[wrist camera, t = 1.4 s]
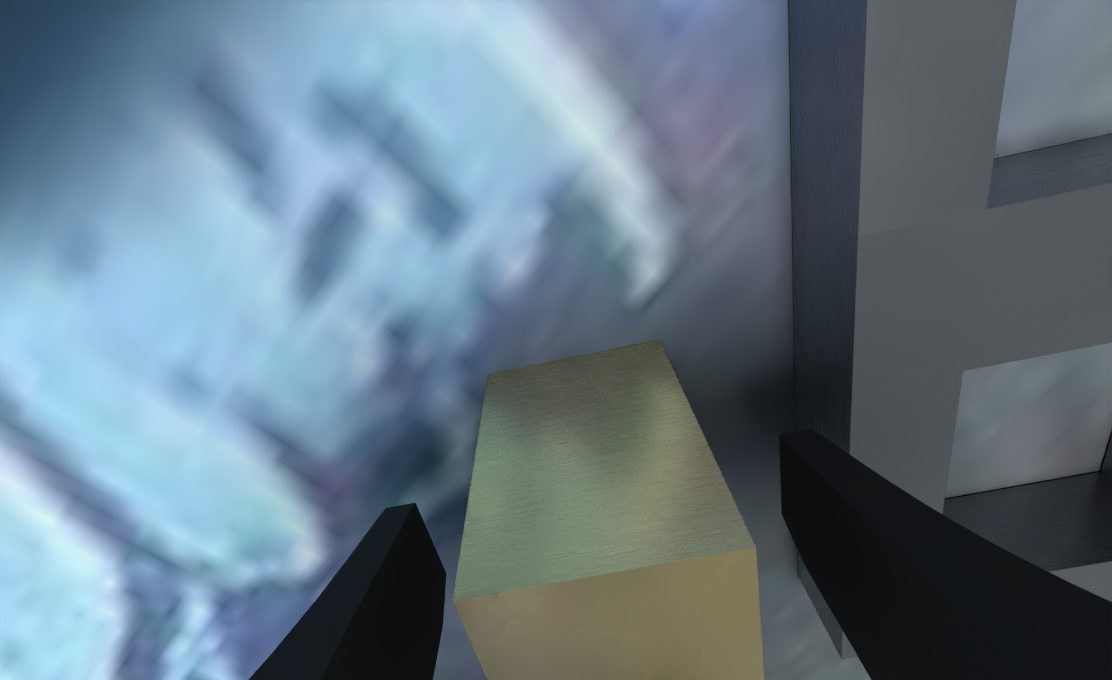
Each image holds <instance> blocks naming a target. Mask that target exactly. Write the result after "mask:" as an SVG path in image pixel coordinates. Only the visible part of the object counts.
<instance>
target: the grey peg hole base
mask: <svg viewBox="0 0 1112 680" xmlns="http://www.w3.org/2000/svg"><path fill="white" fill-rule="evenodd" d="M1015 7H1016V0H789V40H790V102H791V165H792V227H793V289H794V351H795V413H796V432H797V431H802V430H807V429H813V430H815V431H816V432H818V433H819V434H821V435H822V436H823V437H825V438H826V439H828V440H829V441H831V442H832V443H834V444H835V445H837V446H838V447H840V448H841V449H842V450H844V451H845V452H847V453H848V454H850V455H851V456H853V457H854V458H856V459H857V460H859V461H860V462H862V463H863V464H864V465H866V466H867V467H869V468H870V469H872V470H873V471H875V472H876V473H878V474H879V475H881V476H882V477H884V478H885V479H887V480H888V481H890V482H891V483H893V484H895V485H896V486H898V487H899V488H901V489H902V490H904V491H906V492H907V493H909V494H910V495H912V496H913V497H915V498H917V499H918V500H920V501H921V502H923V503H924V504H926V505H928V506H929V507H931V508H933V509H934V510H936V511H938V512H939V513H941V514H943V515H944V516H946V517H948V518H949V519H951V520H953V521H955V522H956V523H958V524H960V525H962V526H963V527H965V528H967V529H969V530H970V531H972V532H974V533H976V534H977V535H979V536H981V537H982V538H984V539H986V540H988V541H990V542H992V543H993V544H995V545H997V546H999V547H1001V548H1003V549H1005V550H1006V551H1008V552H1010V553H1012V554H1014V555H1016V556H1018V557H1020V558H1022V559H1024V560H1026V561H1028V562H1030V563H1032V564H1034V565H1036V566H1038V567H1040V568H1042V569H1044V570H1046V571H1048V572H1050V573H1052V574H1054V575H1056V576H1058V577H1060V578H1062V579H1064V580H1066V581H1068V582H1070V583H1072V584H1074V585H1076V586H1078V587H1080V588H1083V589H1085V590H1087V591H1089V592H1091V593H1093V594H1095V595H1098V596H1100V597H1102V598H1104V599H1106V600H1109V601H1111V602H1112V436H1111V440H1110V443H1109V446H1108V449H1107V453H1106V456H1105V459H1104V463H1103V466H1102V469H1101V472H1097V473H1091V474H1086V475H1080V476H1075V477H1069V478H1063V479H1058V480H1052V481H1046V482H1041V483H1035V484H1030V485H1024V486H1018V487H1013V488H1007V489H1001V490H996V491H990V492H985V493H979V494H973V495H968V496H962V497H956V498H951V499H945V492H946V485H947V478H948V471H949V465H950V458H951V451H952V444H953V437H954V430H955V423H956V416H957V409H958V402H959V395H960V388H961V381H962V374H963V371H964V370H970V369H975V368H980V367H985V366H991V365H996V364H1001V363H1006V362H1011V361H1017V360H1022V359H1027V358H1032V357H1037V356H1043V355H1048V354H1053V353H1058V352H1063V351H1069V350H1074V349H1079V348H1084V347H1090V346H1095V345H1100V344H1105V343H1110V342H1112V134H1109V135H1105V136H1100V137H1095V138H1091V139H1086V140H1081V141H1077V142H1072V143H1067V144H1063V145H1058V146H1053V147H1049V148H1044V149H1039V150H1035V151H1030V152H1025V153H1021V154H1016V155H1011V156H1007V157H1002V158H997V159H994V153H995V146H996V139H997V132H998V125H999V118H1000V111H1001V104H1002V97H1003V90H1004V84H1005V77H1006V70H1007V63H1008V56H1009V49H1010V42H1011V35H1012V28H1013V21H1014V14H1015ZM944 499H945V500H944ZM798 576H799V578H800V580H801V582H802V584H803V586H804V588H805V590H806V592H807V594H808V596H809V597H810V599H811V601H812V603H813V605H814V607H815V609H816V611H817V613H818V615H819V617H820V619H821V621H822V622H823V624H824V626H825V628H826V630H827V632H828V634H829V636H830V638H831V640H832V642H833V644H834V646H835V647H836V649H837V651H838V653H839V655H840V657H841V659H845V658H851V657H857V654H856V652H855V651H854V649H853V647H852V645H851V644H850V642H849V640H848V639H847V637H846V635H845V634H844V632H843V630H842V628H841V627H840V625H839V623H838V622H837V620H836V618H835V617H834V615H833V613H832V612H831V610H830V608H829V606H828V605H827V603H826V601H825V600H824V598H823V596H822V594H821V593H820V591H819V589H818V588H817V586H816V584H815V582H814V581H813V579H812V577H811V575H810V574H809V572H808V570H807V568H806V567H805V565H804V563H803V561H802V559H801V556H800V554H799V552H798Z"/></svg>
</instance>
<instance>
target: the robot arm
mask: <svg viewBox="0 0 1112 680" xmlns="http://www.w3.org/2000/svg"><path fill="white" fill-rule="evenodd" d="M779 438H780V471H781V504H782V515H783V518H784V520H785V522H786V525H787V527H788V529H789V532H790V534H791V536H792V539H793V541H794V543H795V545H796V548H797V550H798V552H799V554H800V556H801V559H802V561H803V563H804V565H805V567H806V568H807V570H808V572H809V574H810V575H811V577H812V579H813V581H814V582H815V584H816V586H817V588H818V589H819V591H820V593H821V594H822V596H823V598H824V600H825V601H826V603H827V605H828V606H829V608H830V610H831V612H832V613H833V615H834V617H835V618H836V620H837V622H838V623H839V625H840V627H841V628H842V630H843V632H844V634H845V635H846V637H847V639H848V640H849V642H850V644H851V645H852V647H853V649H854V651H855V652H856V654H857V656H858V657H859V659H860V661H861V662H862V664H863V666H864V668H865V669H866V671H867V673H868V674H869V676H870V678H871V679H872V680H1112V602H1111V601H1109V600H1106V599H1104V598H1102V597H1100V596H1098V595H1095V594H1093V593H1091V592H1089V591H1087V590H1085V589H1083V588H1080V587H1078V586H1076V585H1074V584H1072V583H1070V582H1068V581H1066V580H1064V579H1062V578H1060V577H1058V576H1056V575H1054V574H1052V573H1050V572H1048V571H1046V570H1044V569H1042V568H1040V567H1038V566H1036V565H1034V564H1032V563H1030V562H1028V561H1026V560H1024V559H1022V558H1020V557H1018V556H1016V555H1014V554H1012V553H1010V552H1008V551H1006V550H1005V549H1003V548H1001V547H999V546H997V545H995V544H993V543H992V542H990V541H988V540H986V539H984V538H982V537H981V536H979V535H977V534H976V533H974V532H972V531H970V530H969V529H967V528H965V527H963V526H962V525H960V524H958V523H956V522H955V521H953V520H951V519H949V518H948V517H946V516H944V515H943V514H941V513H939V512H938V511H936V510H934V509H933V508H931V507H929V506H928V505H926V504H924V503H923V502H921V501H920V500H918V499H917V498H915V497H913V496H912V495H910V494H909V493H907V492H906V491H904V490H902V489H901V488H899V487H898V486H896V485H895V484H893V483H891V482H890V481H888V480H887V479H885V478H884V477H882V476H881V475H879V474H878V473H876V472H875V471H873V470H872V469H870V468H869V467H867V466H866V465H864V464H863V463H862V462H860V461H859V460H857V459H856V458H854V457H853V456H851V455H850V454H848V453H847V452H845V451H844V450H842V449H841V448H840V447H838V446H837V445H835V444H834V443H832V442H831V441H829V440H828V439H826V438H825V437H823V436H822V435H821V434H819V433H818V432H816V431H815V430H813V429H807V430H802V431H797V432H791V433H786V434H780V435H779ZM445 584H446V572H445V570H444V567H443V565H442V563H441V560H440V558H439V556H438V554H437V551H436V549H435V547H434V544H433V542H432V540H431V537H430V535H429V533H428V531H427V528H426V526H425V524H424V521H423V519H422V517H421V515H420V512H419V510H418V508H417V505H416V503H411V504H406V505H401V506H395V507H390V508H386V509H385V510H384V512H383V513H382V514H381V515H380V517H379V518H378V519H377V521H376V522H375V523H374V524H373V526H372V527H371V528H370V530H369V531H368V532H367V534H366V535H365V536H364V538H363V539H362V541H361V542H360V543H359V545H358V546H357V547H356V549H355V550H354V551H353V553H352V554H351V555H350V557H349V558H348V559H347V561H346V562H345V563H344V565H343V566H342V567H341V568H340V570H339V571H338V572H337V574H336V575H335V576H334V578H333V579H332V580H331V581H330V583H329V584H328V585H327V587H326V588H325V589H324V591H323V592H322V593H321V595H320V596H319V597H318V598H317V600H316V601H315V602H314V603H313V605H312V606H311V607H310V608H309V609H308V611H307V612H306V613H305V614H304V615H303V617H302V618H301V619H300V620H299V622H298V623H297V624H296V625H295V626H294V628H293V629H292V630H291V631H290V632H289V634H288V635H287V636H286V637H285V638H284V640H283V641H282V642H281V643H280V644H279V646H278V647H277V648H276V649H275V650H274V652H273V653H272V654H271V655H270V656H269V657H268V659H267V660H266V661H265V662H264V663H263V664H262V665H261V666H260V668H259V669H258V670H257V671H256V672H255V673H254V674H253V675H252V676H251V677H250V679H249V680H433V675H434V670H435V665H436V659H437V654H438V648H439V643H440V637H441V632H442V626H443V614H444V602H445Z"/></svg>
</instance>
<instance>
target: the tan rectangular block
mask: <svg viewBox="0 0 1112 680" xmlns="http://www.w3.org/2000/svg"><path fill="white" fill-rule="evenodd" d="M453 603H454V606H455V608H456V610H457V612H458V615H459V617H460V619H461V622H462V624H463V626H464V628H465V631H466V633H467V635H468V638H469V640H470V642H471V644H472V647H473V649H474V651H475V654H476V656H477V658H478V660H479V663H480V665H481V667H482V670H483V672H484V674H485V676H486V679H487V680H764V664H763V648H762V633H761V617H760V601H759V585H758V570H757V554H756V546H755V544H754V542H753V540H752V537H751V535H750V533H749V531H748V529H747V527H746V525H745V522H744V520H743V518H742V516H741V514H740V512H739V510H738V507H737V505H736V503H735V501H734V499H733V497H732V494H731V492H730V490H729V488H728V486H727V484H726V482H725V479H724V477H723V475H722V473H721V471H720V469H719V467H718V464H717V462H716V460H715V458H714V456H713V454H712V451H711V449H710V447H709V445H708V443H707V441H706V439H705V436H704V434H703V432H702V430H701V428H700V426H699V424H698V421H697V419H696V417H695V415H694V413H693V411H692V408H691V406H690V404H689V402H688V400H687V398H686V396H685V393H684V391H683V389H682V387H681V385H680V383H679V381H678V378H677V376H676V374H675V372H674V370H673V368H672V365H671V363H670V361H669V359H668V357H667V355H666V353H665V350H664V348H663V346H662V344H661V342H660V340H656V341H651V342H646V343H641V344H636V345H631V346H627V347H622V348H617V349H612V350H607V351H602V352H597V353H592V354H587V355H582V356H577V357H572V358H567V359H562V360H557V361H552V362H547V363H542V364H537V365H532V366H528V367H523V368H518V369H513V370H508V371H503V372H498V373H493V374H488V377H487V383H486V390H485V396H484V403H483V409H482V415H481V422H480V428H479V435H478V441H477V448H476V454H475V460H474V467H473V473H472V480H471V486H470V492H469V499H468V505H467V512H466V518H465V524H464V531H463V537H462V544H461V550H460V556H459V563H458V569H457V576H456V582H455V588H454V595H453Z"/></svg>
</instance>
